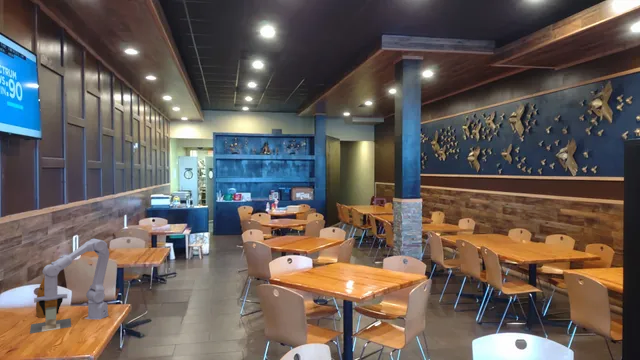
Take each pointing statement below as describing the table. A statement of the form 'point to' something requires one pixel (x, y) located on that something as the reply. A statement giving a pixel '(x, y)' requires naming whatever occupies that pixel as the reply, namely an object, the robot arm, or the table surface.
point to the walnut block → (50, 324)
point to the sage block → (50, 313)
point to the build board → (42, 327)
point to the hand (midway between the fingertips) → (51, 313)
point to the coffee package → (47, 303)
